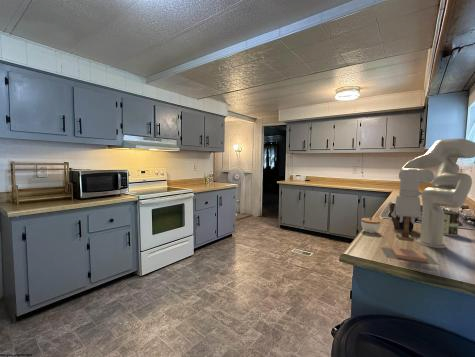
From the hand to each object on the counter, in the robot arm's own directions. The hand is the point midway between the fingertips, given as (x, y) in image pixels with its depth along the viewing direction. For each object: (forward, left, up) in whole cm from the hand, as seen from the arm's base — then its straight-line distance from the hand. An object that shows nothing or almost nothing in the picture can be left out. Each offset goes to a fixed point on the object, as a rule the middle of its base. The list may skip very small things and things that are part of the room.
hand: (405, 229), depth 117 cm
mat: (+6, 0, -11) cm, 13 cm away
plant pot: (-49, +10, -12) cm, 52 cm away
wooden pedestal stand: (0, 0, -5) cm, 5 cm away
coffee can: (-49, +35, -12) cm, 62 cm away
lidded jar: (-31, -11, -12) cm, 35 cm away
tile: (+1, 0, -10) cm, 10 cm away
